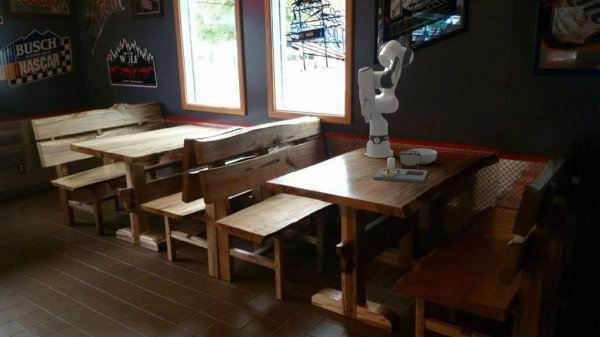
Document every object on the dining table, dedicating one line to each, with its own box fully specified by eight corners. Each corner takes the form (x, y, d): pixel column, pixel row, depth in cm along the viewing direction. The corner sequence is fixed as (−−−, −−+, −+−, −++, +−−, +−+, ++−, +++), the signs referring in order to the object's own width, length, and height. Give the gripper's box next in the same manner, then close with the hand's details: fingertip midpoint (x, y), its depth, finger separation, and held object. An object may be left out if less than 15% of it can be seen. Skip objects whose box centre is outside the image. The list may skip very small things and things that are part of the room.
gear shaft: (385, 172, 276) (385, 156, 274) (398, 173, 273) (399, 157, 271) (382, 175, 269) (383, 159, 267) (396, 176, 267) (396, 160, 264)
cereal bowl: (406, 165, 290) (406, 153, 288) (409, 159, 305) (409, 148, 304) (436, 166, 285) (436, 154, 283) (437, 160, 300) (437, 149, 299)
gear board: (381, 170, 280) (381, 161, 279) (427, 173, 271) (428, 164, 270) (373, 179, 262) (373, 170, 261) (423, 182, 253) (423, 173, 252)
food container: (421, 167, 285) (421, 150, 282) (420, 169, 279) (421, 152, 276) (399, 166, 288) (399, 149, 285) (398, 169, 282) (399, 152, 280)
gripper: (369, 99, 266) (370, 124, 269) (376, 93, 284) (377, 117, 288) (357, 99, 268) (359, 124, 271) (365, 94, 286) (367, 117, 290)
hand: (369, 120), depth 280 cm, fingers open, 8 cm apart
